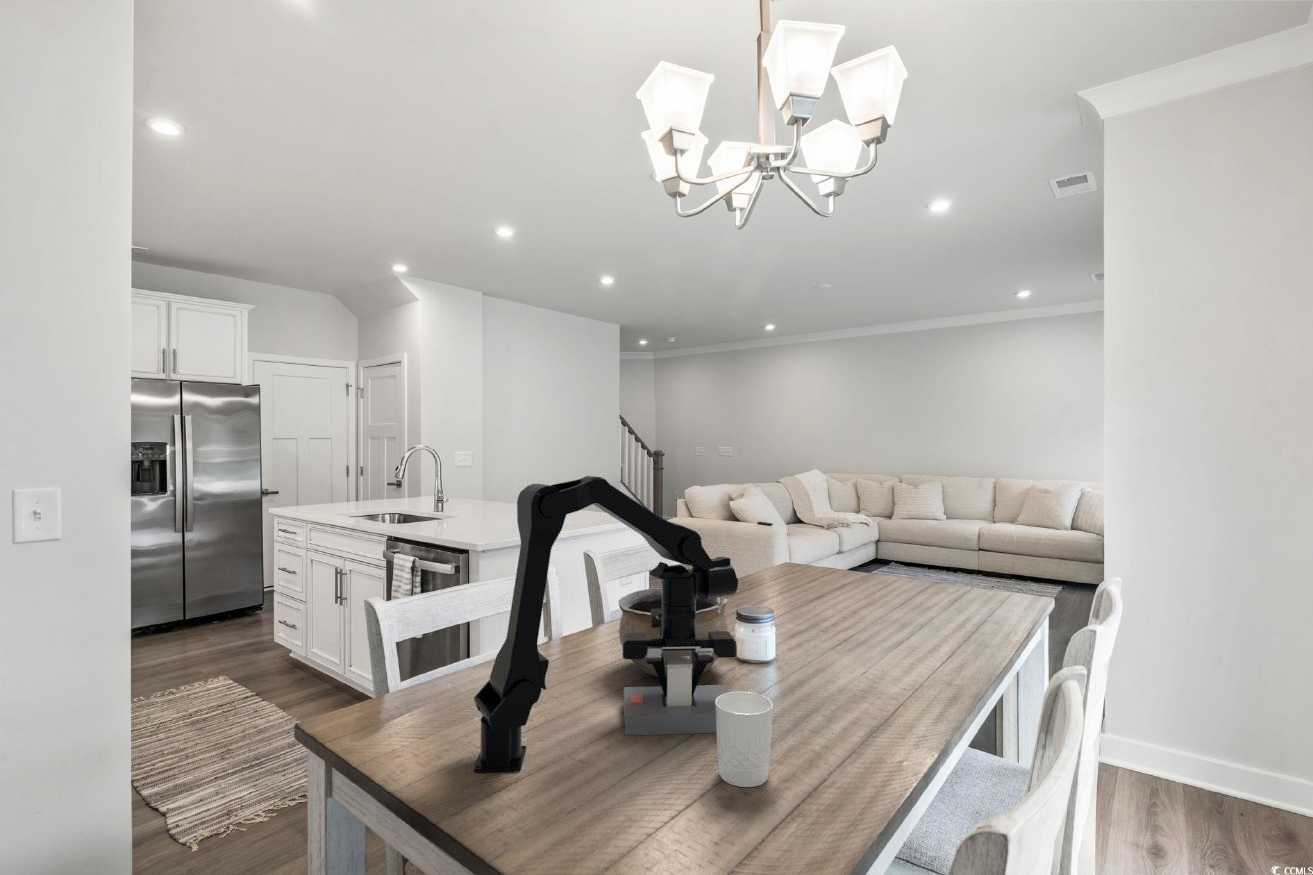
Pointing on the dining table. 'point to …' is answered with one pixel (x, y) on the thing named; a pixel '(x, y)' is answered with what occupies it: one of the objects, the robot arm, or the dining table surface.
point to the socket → (670, 711)
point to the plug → (678, 681)
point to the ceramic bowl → (639, 621)
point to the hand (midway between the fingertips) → (678, 696)
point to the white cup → (743, 737)
